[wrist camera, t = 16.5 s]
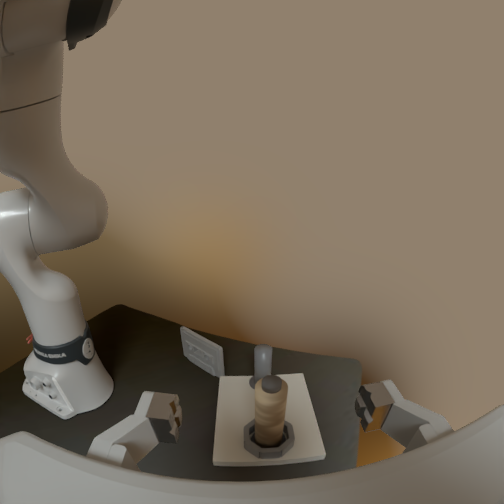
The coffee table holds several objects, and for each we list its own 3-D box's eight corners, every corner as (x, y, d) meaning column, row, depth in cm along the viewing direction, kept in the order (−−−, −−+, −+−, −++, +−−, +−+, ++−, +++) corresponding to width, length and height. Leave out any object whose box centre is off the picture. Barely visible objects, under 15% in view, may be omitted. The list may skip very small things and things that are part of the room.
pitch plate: (213, 465, 29) (205, 431, 27) (220, 379, 49) (217, 341, 47) (324, 459, 30) (337, 423, 27) (301, 377, 50) (306, 338, 47)
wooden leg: (255, 450, 31) (255, 393, 28) (254, 430, 35) (254, 371, 31) (283, 449, 31) (290, 391, 28) (280, 429, 35) (286, 369, 31)
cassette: (226, 376, 50) (224, 346, 48) (220, 380, 49) (217, 350, 47) (188, 353, 58) (184, 324, 56) (182, 356, 56) (177, 327, 54)
